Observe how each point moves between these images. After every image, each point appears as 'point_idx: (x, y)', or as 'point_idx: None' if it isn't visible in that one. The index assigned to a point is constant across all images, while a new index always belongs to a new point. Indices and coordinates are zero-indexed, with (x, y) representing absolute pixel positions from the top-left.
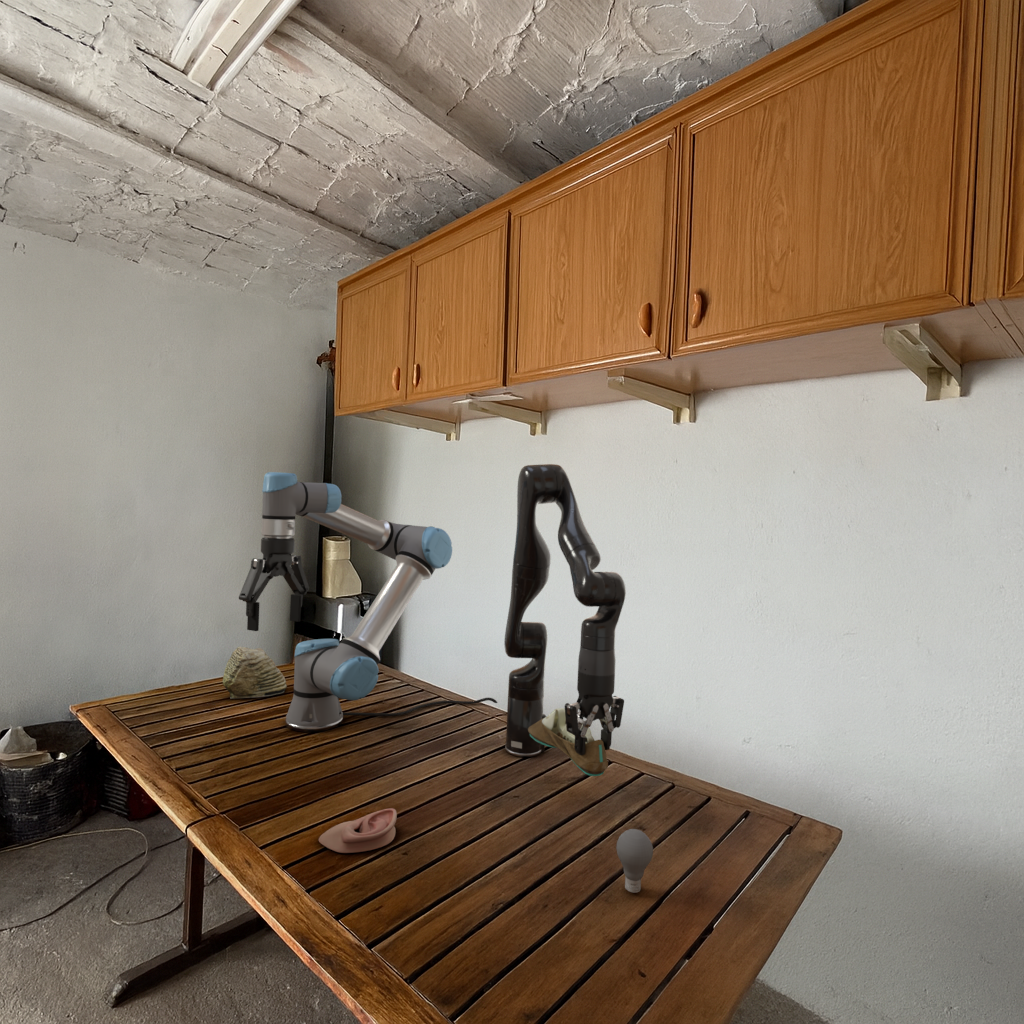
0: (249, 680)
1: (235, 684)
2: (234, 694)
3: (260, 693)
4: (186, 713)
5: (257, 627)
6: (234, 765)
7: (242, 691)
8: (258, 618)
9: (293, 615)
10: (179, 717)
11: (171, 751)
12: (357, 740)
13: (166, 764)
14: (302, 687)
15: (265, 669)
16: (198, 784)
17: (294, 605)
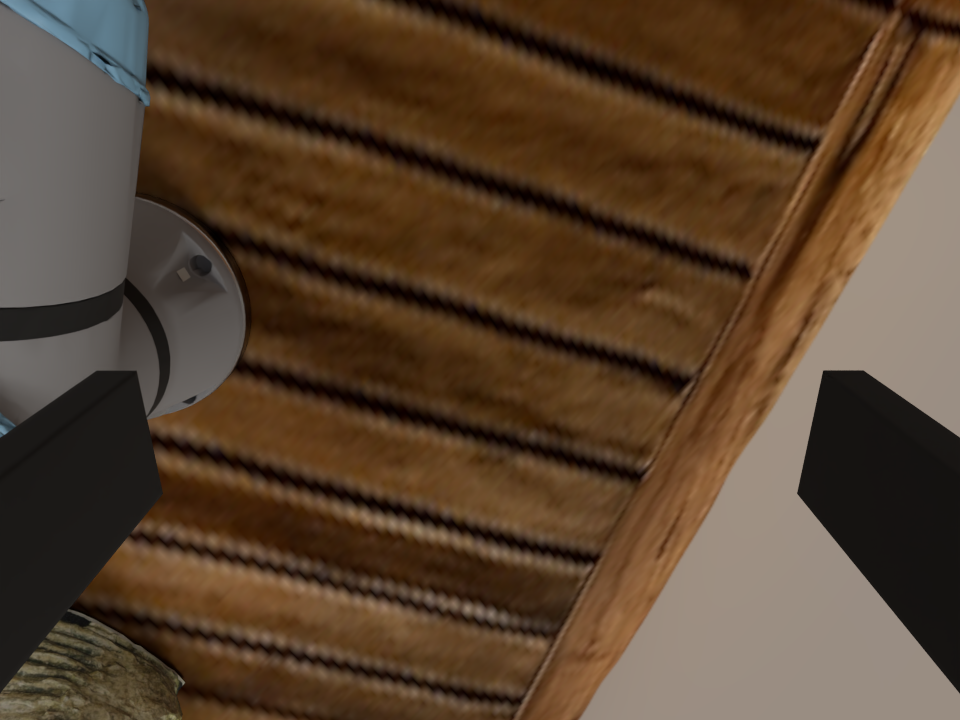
0: (112, 694)
1: (164, 705)
2: (172, 683)
3: (99, 635)
4: (354, 682)
5: (864, 387)
6: (586, 258)
7: (151, 673)
8: (924, 445)
9: (116, 483)
10: (389, 672)
11: (591, 497)
12: (156, 9)
13: (669, 436)
14: (144, 357)
15: (28, 705)
16: (745, 243)
17: (17, 571)
